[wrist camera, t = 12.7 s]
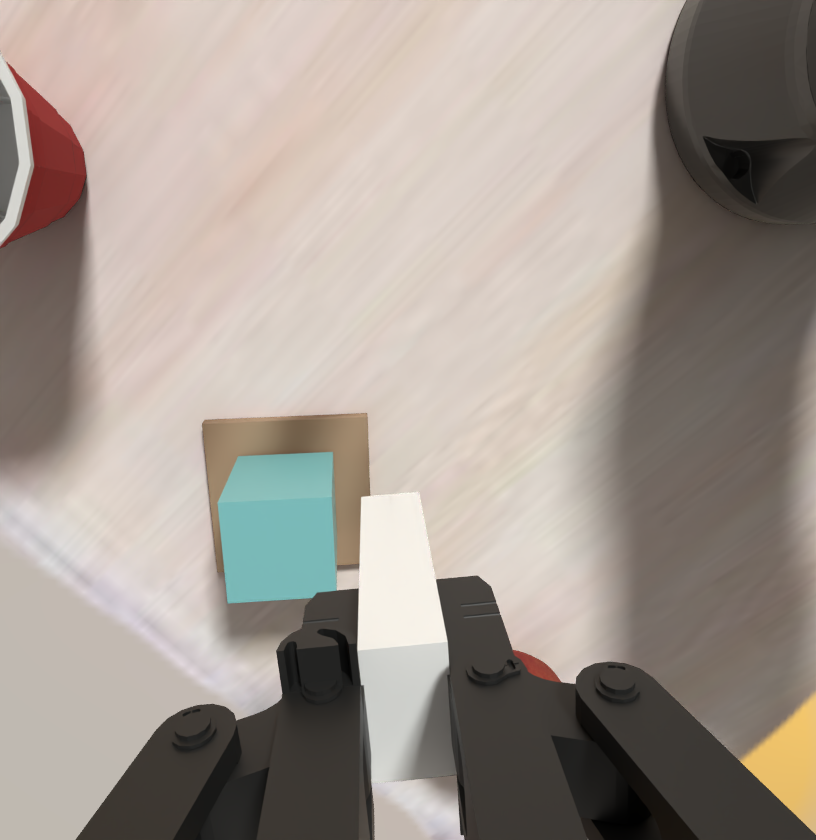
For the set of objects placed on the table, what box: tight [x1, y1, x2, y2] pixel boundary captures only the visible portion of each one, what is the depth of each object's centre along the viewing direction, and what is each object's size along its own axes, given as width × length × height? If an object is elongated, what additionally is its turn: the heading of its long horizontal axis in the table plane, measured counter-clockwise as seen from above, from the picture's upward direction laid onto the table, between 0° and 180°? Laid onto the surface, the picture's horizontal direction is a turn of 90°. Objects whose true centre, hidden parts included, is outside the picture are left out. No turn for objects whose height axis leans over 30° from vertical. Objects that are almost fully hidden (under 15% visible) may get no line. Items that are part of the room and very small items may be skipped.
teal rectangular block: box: [218, 452, 337, 603], centre depth 35 cm, size 5×5×7 cm
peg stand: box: [202, 413, 370, 572], centre depth 36 cm, size 9×9×7 cm
